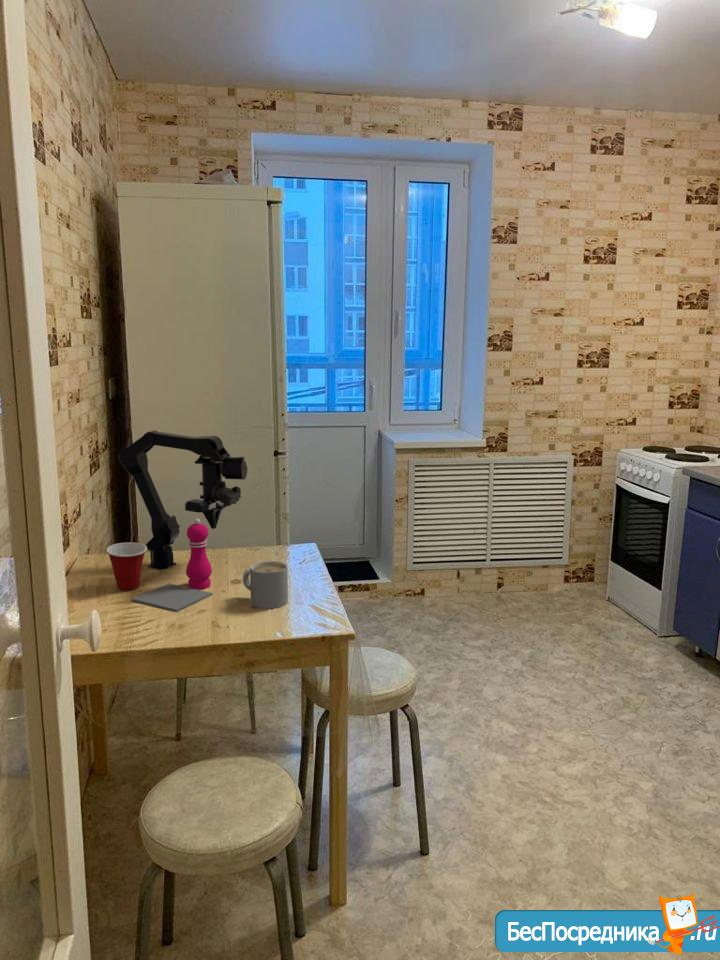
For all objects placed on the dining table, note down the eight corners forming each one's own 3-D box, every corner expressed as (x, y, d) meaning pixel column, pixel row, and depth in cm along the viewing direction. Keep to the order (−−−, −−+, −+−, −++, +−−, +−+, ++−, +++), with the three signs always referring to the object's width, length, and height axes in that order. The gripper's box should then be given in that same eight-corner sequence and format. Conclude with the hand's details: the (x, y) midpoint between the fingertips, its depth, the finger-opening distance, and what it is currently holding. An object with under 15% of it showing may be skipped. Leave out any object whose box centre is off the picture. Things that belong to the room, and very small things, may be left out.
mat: (132, 600, 189) (132, 598, 188) (168, 585, 201) (168, 583, 201) (177, 611, 181) (177, 609, 181) (212, 595, 193) (212, 593, 193)
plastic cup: (124, 597, 191) (121, 555, 189) (101, 589, 197) (98, 548, 195) (156, 586, 200) (154, 546, 197) (133, 578, 206) (131, 539, 204)
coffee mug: (295, 601, 189) (295, 566, 187) (267, 611, 182) (267, 575, 180) (262, 589, 198) (262, 556, 196) (235, 599, 191) (234, 564, 189)
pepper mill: (216, 583, 203) (214, 516, 199) (204, 591, 196) (202, 522, 192) (194, 580, 205) (191, 514, 201) (181, 588, 198) (179, 520, 194)
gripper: (212, 486, 198) (214, 539, 201) (252, 475, 214) (253, 525, 217) (182, 482, 203) (184, 534, 206) (223, 472, 219) (225, 520, 222)
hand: (213, 528), depth 213 cm, fingers closed
